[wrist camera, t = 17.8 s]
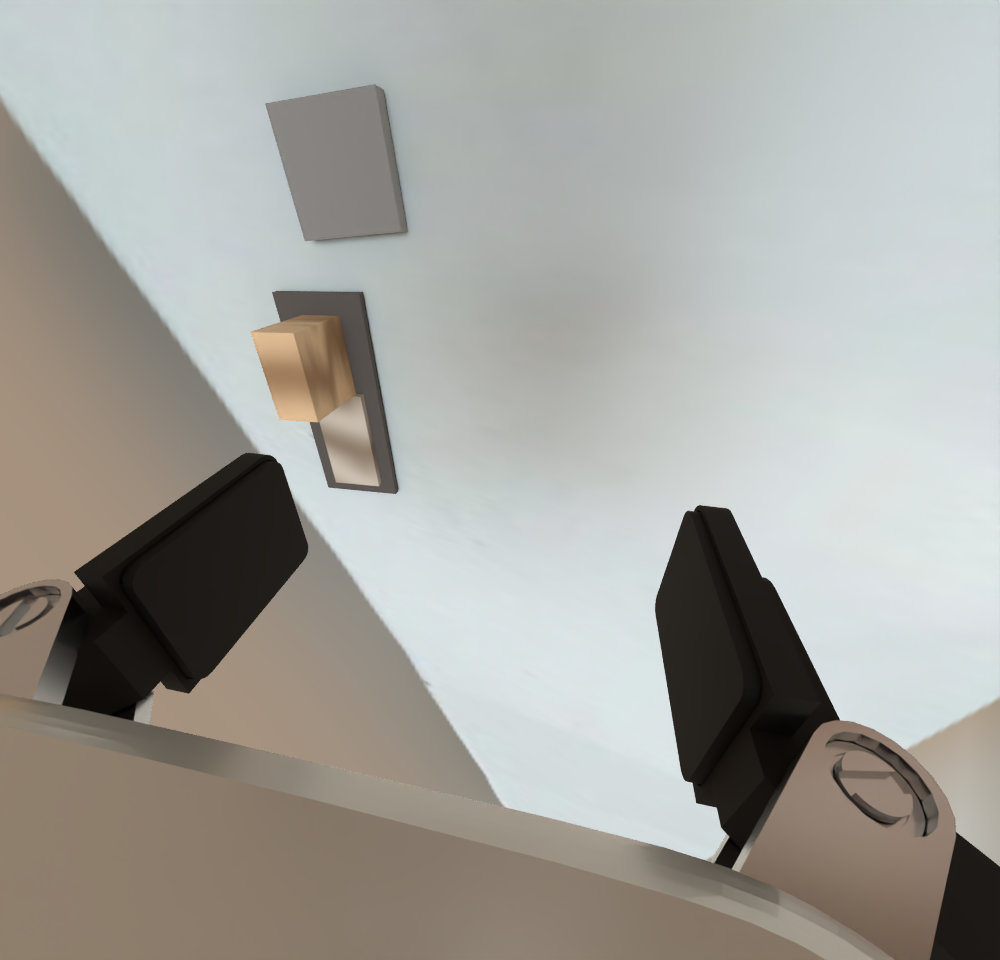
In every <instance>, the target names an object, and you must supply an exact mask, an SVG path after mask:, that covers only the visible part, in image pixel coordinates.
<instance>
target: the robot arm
mask: <svg viewBox="0 0 1000 960" xmlns="http://www.w3.org/2000/svg"><path fill="white" fill-rule="evenodd" d="M307 553H308V543H307V540H306V538H305V534H304V531H303V528H302V525H301V522H300V519H299V516H298V513H297V510H296V507H295V504H294V501H293V498H292V495H291V491H290V488H289V485H288V482H287V479H286V476H285V473H284V470H283V467H282V465H281V464H280V463H278V462H277V460H276V459H275V458H274V457H273V456H270V455H263V454H255V453H245V454H243V455H241V456H240V457H238V458H237V459H235V460H234V461H233V462H231V463H230V464H228V465H227V466H225V467H224V468H222V469H221V470H220V471H218V472H217V473H215V474H214V475H212V476H211V477H210V478H208V479H207V480H205V481H204V482H202V483H201V484H199V485H198V486H197V487H195V488H194V489H192V490H191V491H190V492H188V493H187V494H186V495H184V496H182V497H181V498H180V499H178V500H177V501H175V502H174V503H172V504H171V505H169V506H168V507H167V508H165V509H164V510H162V511H161V512H159V513H158V514H157V515H155V516H154V517H152V518H151V519H149V520H148V521H147V522H145V523H144V524H143V525H141V526H140V527H138V528H137V529H135V530H134V531H132V532H131V533H129V534H128V535H126V536H125V537H124V538H122V539H121V540H119V541H118V542H116V543H115V544H114V545H112V546H111V547H109V548H108V549H106V550H105V551H104V552H102V553H101V554H99V555H98V556H96V557H95V558H94V559H92V560H91V561H89V562H88V563H86V564H85V565H83V566H82V567H81V568H79V569H78V570H76V571H75V572H74V573H75V574H76V575H77V577H78V578H79V579H80V580H81V581H82V583H83V584H84V585H85V587H83V588H82V589H81V590H79V591H78V592H76V591H75V590H74V589H73V587H72V586H71V585H70V584H69V583H68V582H66V581H62V580H59V579H57V580H43V581H38V582H33V583H29V584H26V585H23V586H20V587H17V588H14V589H12V590H10V591H8V592H5V593H3V594H1V595H0V960H1000V867H999V866H998V865H997V864H996V863H994V862H993V861H992V860H991V859H989V858H988V857H987V856H986V855H984V854H983V853H982V852H981V851H979V850H978V849H977V848H976V847H974V846H973V845H972V844H970V843H969V842H968V841H967V840H965V839H964V838H963V837H962V836H960V835H959V834H958V833H957V832H956V825H955V817H954V815H953V812H952V810H951V807H950V804H949V802H948V799H947V797H946V796H945V794H944V793H943V791H942V790H941V789H940V787H939V785H938V784H937V783H936V781H935V780H934V778H933V777H932V775H930V773H929V772H928V771H926V769H925V768H924V767H923V766H922V765H921V764H920V763H919V762H918V761H917V760H916V759H915V758H914V757H913V756H912V755H911V754H910V753H908V752H907V751H906V750H904V749H903V748H902V747H901V746H899V745H898V744H897V743H896V742H894V741H893V740H891V739H889V738H888V737H886V736H884V735H882V734H881V733H879V732H877V731H875V730H874V729H871V728H869V727H866V726H863V725H860V724H857V723H855V722H849V721H840V719H839V717H838V715H837V713H836V711H835V709H834V707H833V705H832V703H831V701H830V699H829V697H828V695H827V693H826V691H825V689H824V687H823V685H822V683H821V681H820V678H819V676H818V674H817V672H816V670H815V668H814V666H813V664H812V662H811V660H810V658H809V656H808V654H807V652H806V650H805V648H804V646H803V644H802V642H801V640H800V638H799V636H798V634H797V632H796V630H795V628H794V626H793V624H792V621H791V619H790V617H789V615H788V613H787V611H786V609H785V607H784V605H783V603H782V601H781V599H780V597H779V595H778V593H777V591H776V589H775V587H774V586H773V584H772V583H771V581H769V580H768V579H766V578H762V577H761V574H760V572H759V570H758V568H757V566H756V564H755V562H754V559H753V557H752V555H751V553H750V551H749V549H748V547H747V545H746V542H745V540H744V538H743V536H742V534H741V532H740V530H739V528H738V525H737V523H736V521H735V519H734V517H733V515H732V513H731V511H730V510H729V509H727V508H718V507H710V506H701V505H699V506H697V507H696V508H695V510H694V512H693V511H687V512H686V513H685V515H684V517H683V520H682V523H681V526H680V529H679V532H678V535H677V538H676V541H675V544H674V547H673V550H672V553H671V556H670V559H669V562H668V565H667V567H666V570H665V573H664V576H663V579H662V582H661V585H660V588H659V591H658V594H657V597H656V603H655V613H656V619H657V626H658V632H659V638H660V644H661V650H662V656H663V663H664V669H665V675H666V681H667V687H668V693H669V700H670V706H671V712H672V718H673V724H674V730H675V736H676V743H677V749H678V755H679V761H680V767H681V772H682V775H683V778H684V780H685V781H687V782H692V783H693V787H694V793H695V798H696V803H698V804H703V805H707V806H712V807H717V810H718V815H719V819H720V824H721V828H722V829H723V830H724V831H725V832H726V833H727V834H726V836H725V838H724V839H723V841H722V843H721V845H720V846H719V848H718V850H717V851H716V853H715V855H714V856H713V858H712V860H711V862H708V861H705V860H702V859H699V858H696V857H692V856H689V855H686V854H683V853H680V852H676V851H673V850H670V849H667V848H664V847H660V846H656V845H652V844H648V843H644V842H640V841H637V840H633V839H629V838H625V837H621V836H617V835H613V834H609V833H605V832H602V831H598V830H594V829H590V828H586V827H582V826H578V825H574V824H571V823H567V822H563V821H559V820H555V819H551V818H547V817H543V816H539V815H535V814H530V813H526V812H522V811H518V810H513V809H509V808H505V807H501V806H497V805H492V804H488V803H484V802H480V801H476V800H471V799H467V798H462V797H459V796H455V795H450V794H446V793H442V792H437V791H433V790H429V789H425V788H420V787H416V786H412V785H408V784H404V783H400V782H395V781H391V780H387V779H383V778H379V777H374V776H370V775H366V774H361V773H357V772H353V771H349V770H344V769H340V768H336V767H331V766H327V765H323V764H318V763H314V762H310V761H306V760H301V759H297V758H293V757H288V756H284V755H280V754H275V753H271V752H266V751H262V750H258V749H253V748H249V747H245V746H241V745H236V744H232V743H228V742H223V741H219V740H215V739H210V738H205V737H201V736H197V735H193V734H188V733H184V732H179V731H175V730H170V729H166V728H162V727H157V726H153V725H149V723H150V715H151V708H152V701H153V693H154V692H153V689H154V688H155V687H156V686H157V684H158V683H159V682H160V681H161V682H162V684H163V685H164V686H165V687H166V688H167V689H171V690H175V691H180V692H184V693H190V692H191V691H192V689H193V688H194V687H195V686H196V685H197V683H198V682H199V681H200V680H201V679H202V678H205V677H207V676H208V675H209V674H210V673H211V672H212V671H213V670H214V669H215V668H216V666H217V665H218V664H219V663H220V661H221V660H222V659H223V658H224V657H225V655H226V654H227V653H228V652H229V650H230V649H231V648H232V647H233V646H234V644H235V643H236V642H237V641H238V640H239V638H240V637H241V636H242V635H243V634H244V632H245V631H246V630H247V629H248V627H249V626H250V625H251V624H252V622H253V621H254V620H255V619H256V618H257V617H258V615H259V614H260V613H261V612H262V610H263V609H264V608H265V607H266V606H267V604H268V603H269V602H270V601H271V599H272V598H273V597H274V596H275V595H276V593H277V592H278V591H279V590H280V589H281V587H282V586H283V585H284V584H285V582H286V581H287V580H288V579H289V578H290V576H291V575H292V574H293V573H294V572H295V570H296V569H297V568H298V567H299V565H300V564H301V563H302V562H303V560H304V559H305V558H306V556H307Z"/></svg>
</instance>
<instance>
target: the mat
mask: <svg viewBox="0 0 1000 960" xmlns="http://www.w3.org/2000/svg"><path fill="white" fill-rule="evenodd" d="M272 293H273V297H274V300H275V304H276V307H277V311H278V314H279V318H280V321H281V322H283V321H286V320H289V319H292V318H295V317H298V316H301V315H327V316H339V317H340V322H341V326H342V331H343V336H344V340H345V345H346V350H347V354H348V359H349V364H350V368H351V373H352V378H353V382H354V387H355V392H356V394H363V395H364V400H365V405H366V410H367V415H368V420H369V425H370V429H371V434H372V439H373V444H374V449H375V454H376V459H377V464H378V469H379V474H380V478H381V485H380V486H370V485H359V484H349V483H338V482H336V480H335V477H334V473H333V470H332V466H331V462H330V459H329V455H328V451H327V448H326V444H325V440H324V437H323V433H322V430H321V426H320V422H310V425H311V428H312V432H313V435H314V439H315V442H316V446H317V449H318V453H319V456H320V459H321V463H322V466H323V470H324V473H325V477H326V480H327V484H328V487H330V488H340V489H351V490H361V491H371V492H382V493H392V494H396V493H397V492H398V488H397V482H396V477H395V471H394V466H393V460H392V454H391V449H390V443H389V438H388V432H387V427H386V421H385V416H384V410H383V405H382V399H381V394H380V388H379V382H378V377H377V371H376V366H375V360H374V355H373V349H372V344H371V338H370V333H369V327H368V322H367V316H366V310H365V305H364V299H363V294H362V292H297V291H276V292H272Z"/></svg>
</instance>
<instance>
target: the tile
mask: <svg viewBox="0 0 1000 960" xmlns="http://www.w3.org/2000/svg"><path fill="white" fill-rule="evenodd" d="M266 108H267V111H268V115H269V118H270V122H271V125H272V128H273V132H274V135H275V139H276V142H277V146H278V149H279V153H280V156H281V160H282V163H283V167H284V170H285V174H286V177H287V180H288V184H289V187H290V191H291V194H292V198H293V201H294V205H295V208H296V212H297V215H298V219H299V222H300V226H301V229H302V232H303V236H304V239H305V241H312V240H323V239H333V238H343V237H354V236H364V235H375V234H385V233H395V232H406V231H407V225H406V219H405V213H404V208H403V202H402V196H401V190H400V184H399V178H398V173H397V167H396V161H395V155H394V149H393V143H392V138H391V132H390V126H389V120H388V114H387V108H386V103H385V97H384V91H383V89H381V88H380V87H378V86H376V85H370V86H364V87H358V88H352V89H347V90H341V91H335V92H329V93H324V94H318V95H312V96H306V97H301V98H295V99H289V100H284V101H278V102H272V103H266Z"/></svg>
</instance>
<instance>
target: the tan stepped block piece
mask: <svg viewBox="0 0 1000 960" xmlns="http://www.w3.org/2000/svg"><path fill="white" fill-rule="evenodd" d="M251 335H252V338H253V341H254V344H255V347H256V350H257V353H258V356H259V359H260V362H261V365H262V368H263V371H264V374H265V377H266V380H267V383H268V386H269V389H270V392H271V395H272V398H273V401H274V404H275V407H276V410H277V413H278V416H279V419H280V420H291V421H305V422H320V426H321V430H322V433H323V437H324V440H325V444H326V448H327V451H328V455H329V459H330V462H331V466H332V470H333V473H334V477H335V480H336V482H338V483H349V484H359V485H370V486H380V485H381V478H380V474H379V469H378V464H377V459H376V454H375V449H374V444H373V439H372V434H371V429H370V425H369V420H368V415H367V410H366V405H365V400H364V395H363V394H356V392H355V387H354V382H353V378H352V373H351V368H350V364H349V359H348V354H347V350H346V345H345V340H344V336H343V331H342V326H341V322H340V317H339V316H327V315H301V316H298V317H295V318H292V319H289V320H286V321H283V322H280V323H277V324H273V325H270V326H267V327H264V328H261V329H258V330H255V331H252V332H251Z"/></svg>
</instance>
